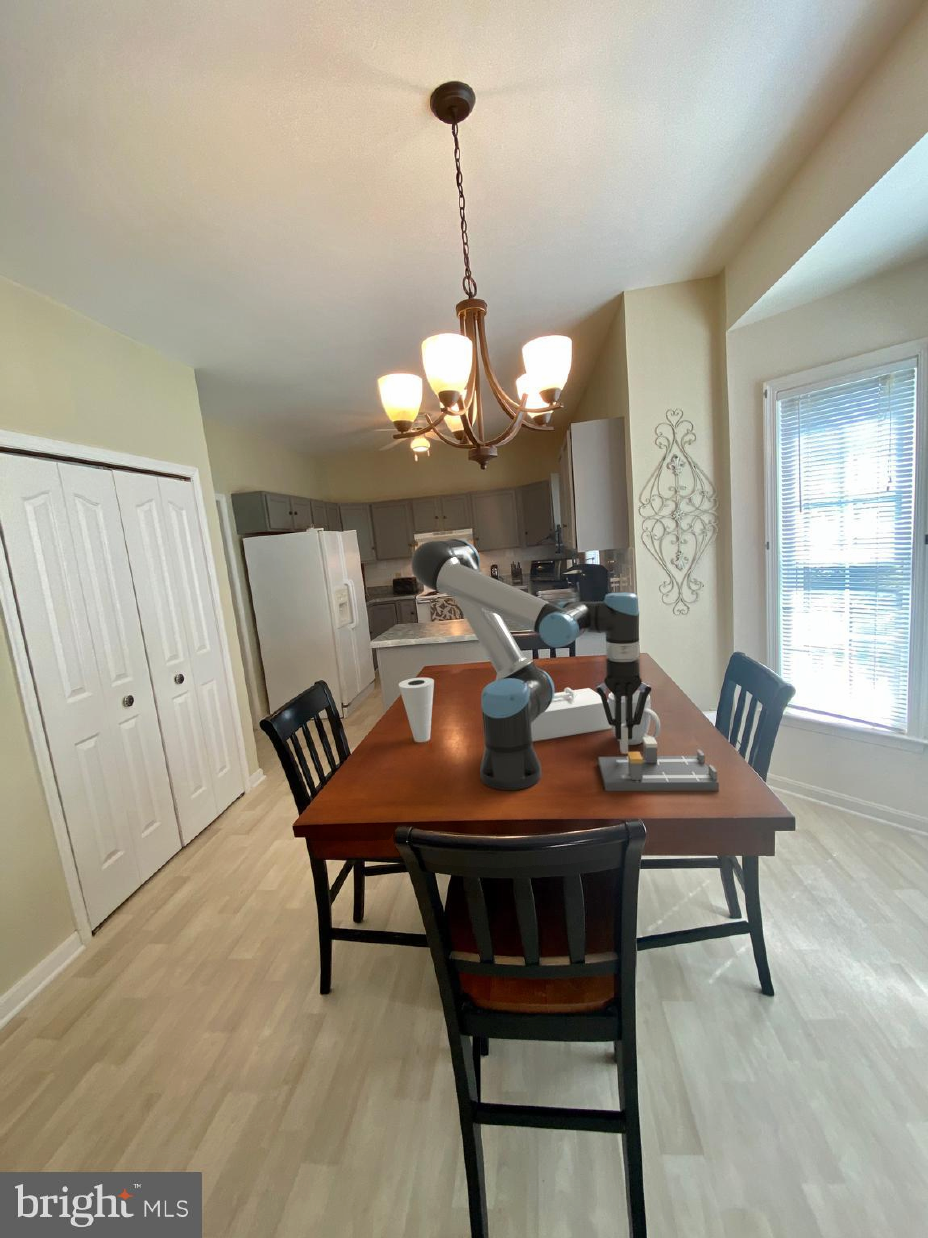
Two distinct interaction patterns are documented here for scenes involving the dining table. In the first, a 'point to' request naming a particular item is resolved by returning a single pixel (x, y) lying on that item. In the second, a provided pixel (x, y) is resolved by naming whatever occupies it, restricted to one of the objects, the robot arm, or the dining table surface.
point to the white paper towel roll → (418, 705)
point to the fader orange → (635, 765)
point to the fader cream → (650, 749)
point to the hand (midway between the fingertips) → (623, 751)
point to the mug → (644, 725)
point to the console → (660, 774)
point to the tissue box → (570, 715)
